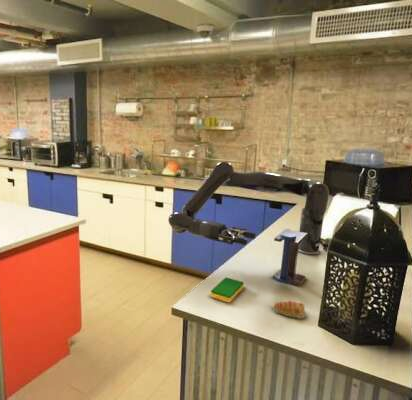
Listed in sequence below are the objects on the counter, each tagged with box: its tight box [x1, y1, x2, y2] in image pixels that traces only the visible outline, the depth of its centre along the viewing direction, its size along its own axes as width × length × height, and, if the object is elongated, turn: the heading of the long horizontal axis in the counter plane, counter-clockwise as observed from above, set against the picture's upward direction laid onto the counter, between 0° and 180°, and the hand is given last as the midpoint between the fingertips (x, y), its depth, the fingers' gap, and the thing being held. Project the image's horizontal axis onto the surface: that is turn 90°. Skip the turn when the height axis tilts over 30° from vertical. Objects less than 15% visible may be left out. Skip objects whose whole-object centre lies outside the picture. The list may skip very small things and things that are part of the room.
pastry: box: [272, 300, 306, 320], centre depth 121 cm, size 9×7×4 cm
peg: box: [274, 231, 296, 285], centre depth 136 cm, size 6×6×18 cm
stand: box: [272, 228, 308, 287], centre depth 140 cm, size 15×10×19 cm, turn 141°
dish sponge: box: [210, 277, 245, 303], centre depth 134 cm, size 7×14×2 cm, turn 143°
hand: (250, 239), depth 143 cm, fingers open, 8 cm apart
